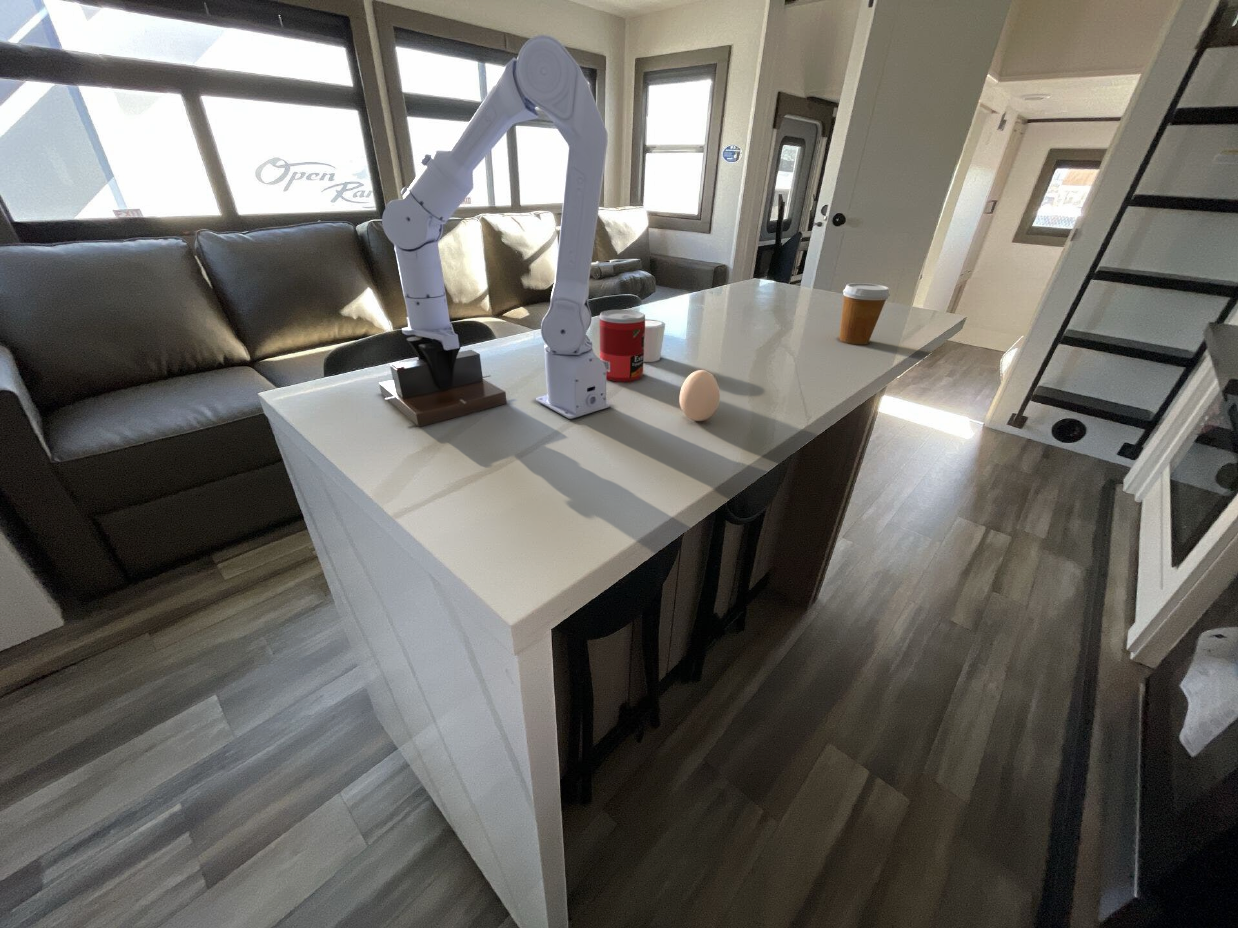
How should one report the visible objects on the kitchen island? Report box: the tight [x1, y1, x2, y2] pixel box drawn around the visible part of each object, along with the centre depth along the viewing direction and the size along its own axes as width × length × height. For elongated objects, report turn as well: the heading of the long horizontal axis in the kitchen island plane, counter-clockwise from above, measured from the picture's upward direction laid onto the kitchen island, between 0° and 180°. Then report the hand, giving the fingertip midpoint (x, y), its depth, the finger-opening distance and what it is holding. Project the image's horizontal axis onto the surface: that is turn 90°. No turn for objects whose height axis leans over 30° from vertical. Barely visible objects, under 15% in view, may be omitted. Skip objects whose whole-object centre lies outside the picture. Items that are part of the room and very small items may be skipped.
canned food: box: [599, 309, 646, 383], centre depth 87 cm, size 8×8×11 cm
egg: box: [678, 369, 721, 422], centre depth 71 cm, size 6×6×8 cm
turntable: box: [378, 374, 508, 428], centre depth 78 cm, size 17×17×2 cm
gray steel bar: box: [389, 349, 484, 399], centre depth 76 cm, size 13×3×5 cm, turn 130°
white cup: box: [643, 318, 666, 363], centre depth 98 cm, size 7×7×7 cm
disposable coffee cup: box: [838, 282, 891, 345], centre depth 110 cm, size 10×10×12 cm
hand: (440, 384), depth 77 cm, fingers closed on gray steel bar, 3 cm apart
